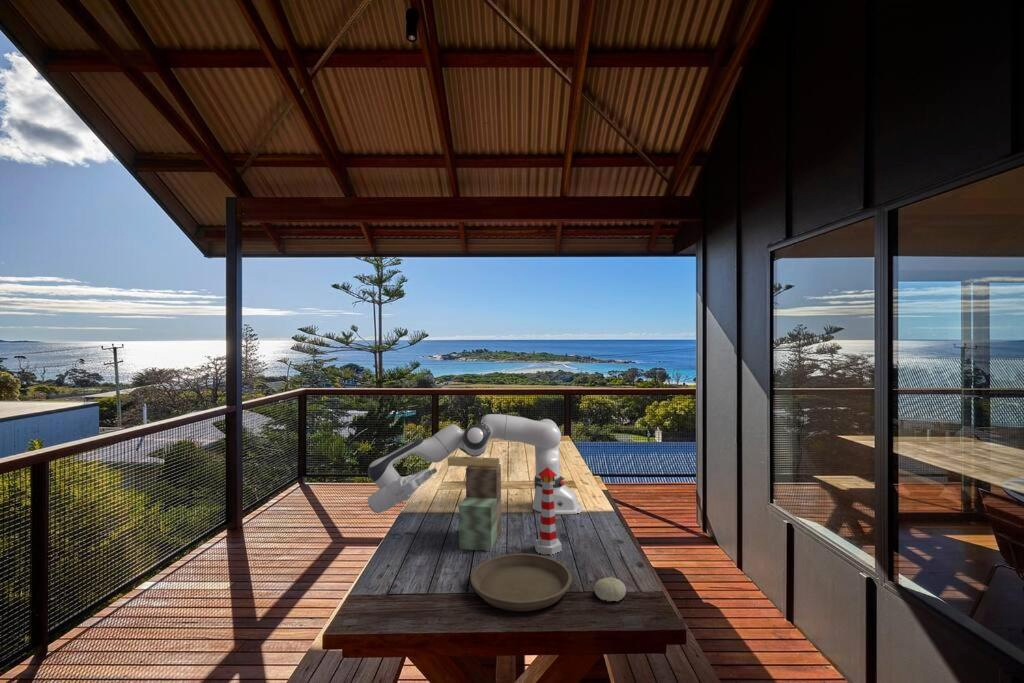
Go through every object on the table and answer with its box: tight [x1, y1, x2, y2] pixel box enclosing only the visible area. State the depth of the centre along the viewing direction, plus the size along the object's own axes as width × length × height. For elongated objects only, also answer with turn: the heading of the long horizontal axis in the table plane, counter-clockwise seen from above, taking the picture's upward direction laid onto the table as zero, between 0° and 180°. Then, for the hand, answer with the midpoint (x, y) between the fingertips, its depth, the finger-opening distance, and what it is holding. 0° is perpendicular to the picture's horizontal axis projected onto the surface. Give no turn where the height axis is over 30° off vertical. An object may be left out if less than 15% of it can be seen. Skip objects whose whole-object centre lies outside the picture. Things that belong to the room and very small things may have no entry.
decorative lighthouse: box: [533, 467, 563, 556], centre depth 187 cm, size 10×9×30 cm
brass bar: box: [447, 455, 500, 468], centre depth 201 cm, size 20×3×3 cm, turn 80°
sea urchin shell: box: [593, 576, 627, 602], centre depth 154 cm, size 9×8×8 cm
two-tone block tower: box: [458, 463, 502, 551], centre depth 196 cm, size 12×18×27 cm, turn 170°
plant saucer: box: [470, 553, 573, 612], centre depth 159 cm, size 31×31×5 cm
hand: (432, 472), depth 205 cm, fingers open, 8 cm apart
